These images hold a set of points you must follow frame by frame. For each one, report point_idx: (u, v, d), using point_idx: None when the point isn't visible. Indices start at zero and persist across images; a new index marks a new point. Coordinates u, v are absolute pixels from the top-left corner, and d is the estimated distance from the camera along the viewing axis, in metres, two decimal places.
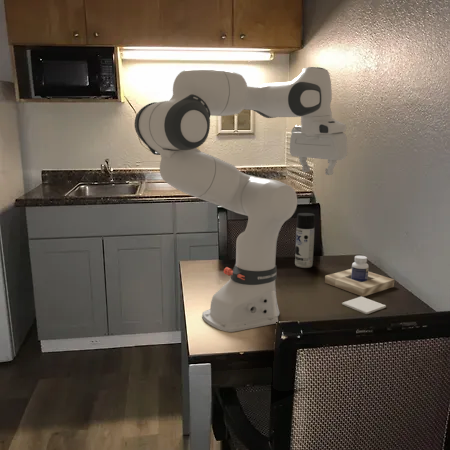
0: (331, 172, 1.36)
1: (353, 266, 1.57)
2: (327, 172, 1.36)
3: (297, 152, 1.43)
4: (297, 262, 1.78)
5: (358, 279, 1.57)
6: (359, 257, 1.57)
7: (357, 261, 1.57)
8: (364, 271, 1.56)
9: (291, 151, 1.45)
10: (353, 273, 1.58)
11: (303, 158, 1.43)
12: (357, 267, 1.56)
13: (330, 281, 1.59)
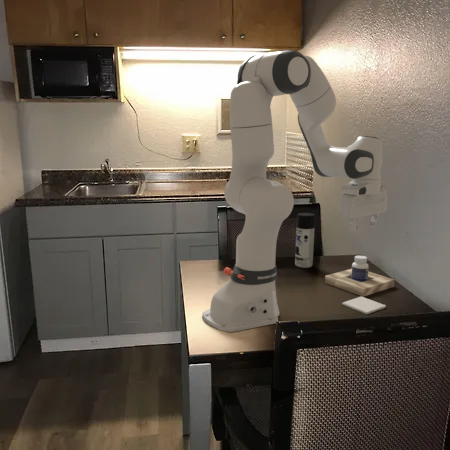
0: (352, 228, 1.52)
1: (353, 266, 1.57)
2: None
3: None
4: (297, 262, 1.78)
5: (358, 279, 1.57)
6: (359, 257, 1.57)
7: (357, 261, 1.57)
8: (364, 271, 1.56)
9: None
10: (353, 273, 1.58)
11: (372, 214, 1.58)
12: (357, 267, 1.56)
13: (330, 281, 1.59)
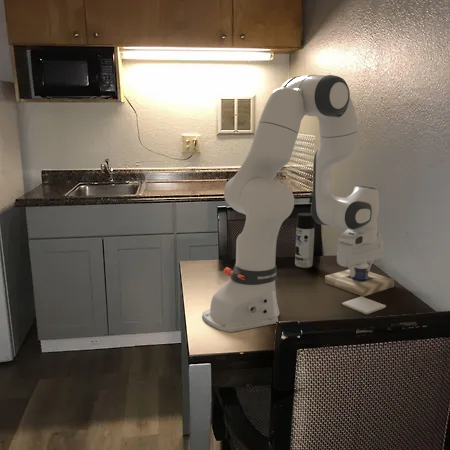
0: (352, 274, 1.56)
1: None
2: None
3: None
4: (297, 262, 1.78)
5: (358, 279, 1.57)
6: None
7: None
8: (364, 271, 1.56)
9: None
10: None
11: None
12: (357, 267, 1.56)
13: (330, 281, 1.59)
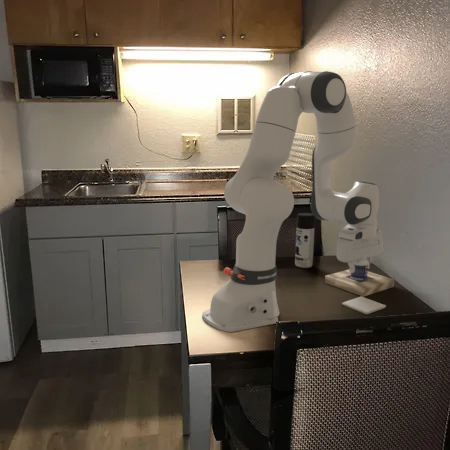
0: (351, 270, 1.56)
1: None
2: None
3: None
4: (297, 262, 1.78)
5: (357, 276, 1.56)
6: None
7: None
8: (363, 268, 1.55)
9: None
10: None
11: None
12: (357, 264, 1.56)
13: (330, 281, 1.59)
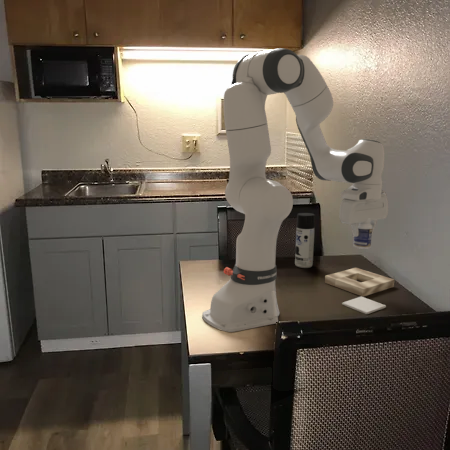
0: (354, 234, 1.48)
1: None
2: None
3: None
4: (297, 262, 1.78)
5: (361, 240, 1.49)
6: None
7: None
8: (367, 231, 1.48)
9: None
10: None
11: None
12: (360, 227, 1.48)
13: (330, 281, 1.59)
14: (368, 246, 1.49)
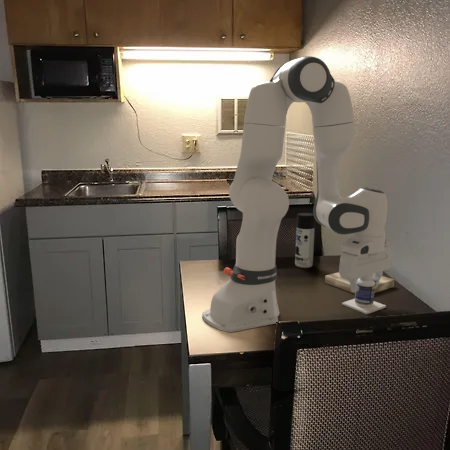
0: (353, 289, 1.37)
1: (357, 283, 1.39)
2: None
3: None
4: (297, 262, 1.78)
5: (363, 298, 1.38)
6: None
7: (362, 278, 1.38)
8: (369, 289, 1.37)
9: None
10: None
11: None
12: (362, 285, 1.38)
13: (330, 281, 1.59)
14: (371, 304, 1.39)
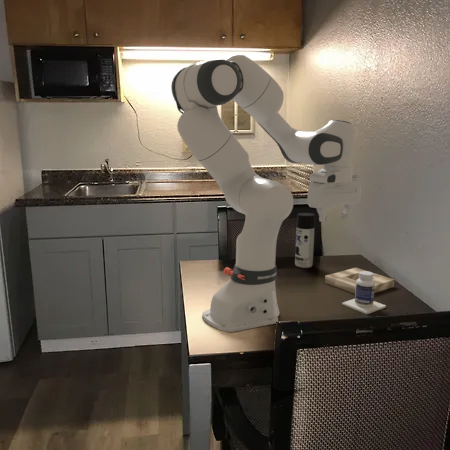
0: (321, 219, 1.42)
1: (357, 283, 1.39)
2: None
3: None
4: (297, 262, 1.78)
5: (363, 298, 1.38)
6: (364, 273, 1.39)
7: (362, 278, 1.38)
8: (369, 289, 1.37)
9: None
10: (357, 291, 1.39)
11: (345, 205, 1.48)
12: (362, 284, 1.38)
13: (330, 281, 1.59)
14: (371, 304, 1.39)
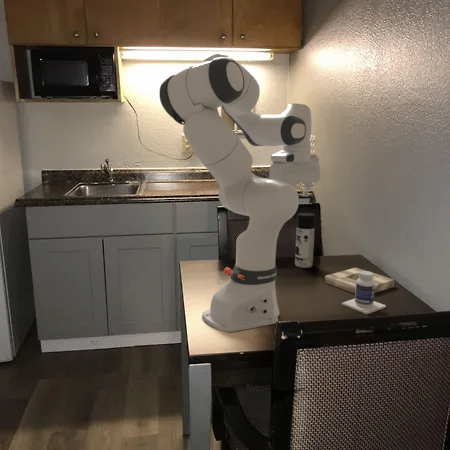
0: None
1: (357, 283, 1.39)
2: None
3: None
4: (297, 262, 1.78)
5: (363, 298, 1.38)
6: (364, 273, 1.39)
7: (362, 278, 1.38)
8: (369, 289, 1.37)
9: None
10: (357, 291, 1.39)
11: (305, 183, 1.59)
12: (362, 284, 1.38)
13: (330, 281, 1.59)
14: (371, 304, 1.39)
